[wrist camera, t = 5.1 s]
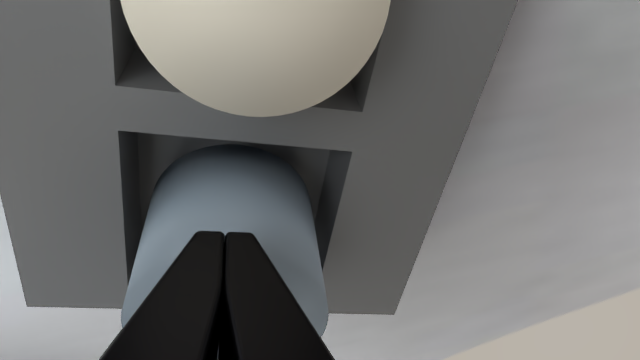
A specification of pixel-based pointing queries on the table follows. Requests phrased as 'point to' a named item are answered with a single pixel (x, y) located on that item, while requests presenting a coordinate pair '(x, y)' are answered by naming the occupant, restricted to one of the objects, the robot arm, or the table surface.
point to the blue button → (232, 220)
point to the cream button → (257, 48)
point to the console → (224, 128)
